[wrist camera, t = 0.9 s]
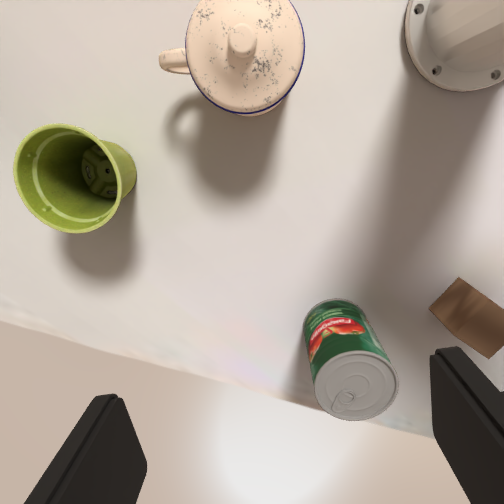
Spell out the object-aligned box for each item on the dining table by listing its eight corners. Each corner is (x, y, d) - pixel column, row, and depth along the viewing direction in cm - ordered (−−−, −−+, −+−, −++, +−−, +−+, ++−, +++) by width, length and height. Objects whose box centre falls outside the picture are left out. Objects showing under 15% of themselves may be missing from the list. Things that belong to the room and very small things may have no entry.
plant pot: (160, 209, 39) (131, 228, 31) (80, 217, 40) (31, 238, 32) (142, 121, 36) (106, 116, 28) (56, 132, 37) (-3, 130, 29)
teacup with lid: (296, 14, 33) (311, -48, 22) (295, 117, 36) (308, 109, 25) (170, 20, 33) (123, -37, 22) (179, 121, 36) (141, 115, 25)
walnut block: (458, 276, 40) (490, 299, 35) (489, 299, 41) (525, 325, 35) (428, 308, 42) (453, 335, 36) (458, 329, 43) (488, 359, 37)
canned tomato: (326, 287, 41) (346, 337, 31) (380, 317, 42) (417, 376, 32) (290, 336, 44) (298, 398, 33) (342, 364, 45) (365, 433, 34)
